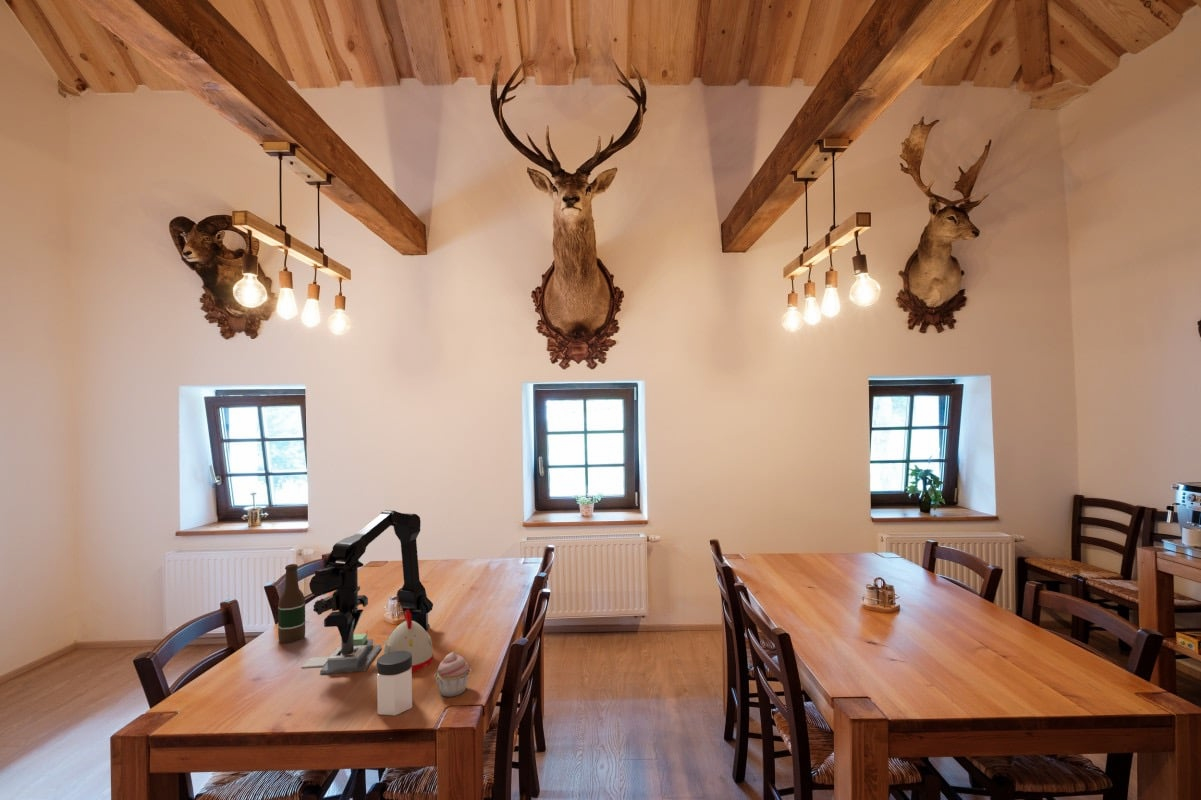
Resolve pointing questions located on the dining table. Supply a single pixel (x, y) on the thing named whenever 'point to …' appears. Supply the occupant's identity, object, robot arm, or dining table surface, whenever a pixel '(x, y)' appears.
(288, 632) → the beer bottle
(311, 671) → the dining table surface
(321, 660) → the pad
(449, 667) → the cupcake
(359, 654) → the grey flat framed piece
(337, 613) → the robot arm
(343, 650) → the gray capped cylinder
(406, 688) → the jar
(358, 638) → the on button
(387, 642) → the kitchen timer
